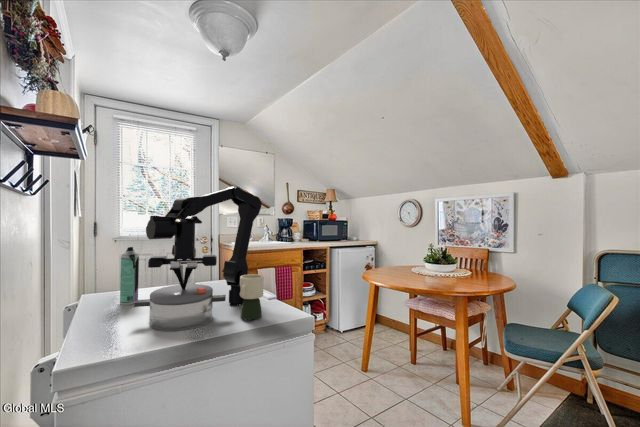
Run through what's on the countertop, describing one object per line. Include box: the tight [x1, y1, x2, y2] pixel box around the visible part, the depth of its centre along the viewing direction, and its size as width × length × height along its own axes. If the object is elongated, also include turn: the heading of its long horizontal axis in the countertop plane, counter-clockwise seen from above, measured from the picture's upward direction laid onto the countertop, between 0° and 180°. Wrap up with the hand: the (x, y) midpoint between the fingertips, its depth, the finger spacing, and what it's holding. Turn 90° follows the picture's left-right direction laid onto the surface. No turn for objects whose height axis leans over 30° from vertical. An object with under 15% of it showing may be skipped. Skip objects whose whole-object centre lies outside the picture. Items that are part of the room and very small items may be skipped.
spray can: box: [119, 246, 140, 306], centre depth 108 cm, size 6×6×20 cm
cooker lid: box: [149, 282, 214, 305], centre depth 91 cm, size 17×19×3 cm
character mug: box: [240, 273, 265, 321], centre depth 93 cm, size 11×7×13 cm, turn 163°
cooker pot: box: [133, 294, 227, 332], centre depth 90 cm, size 25×17×7 cm
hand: (183, 289), depth 92 cm, fingers closed
